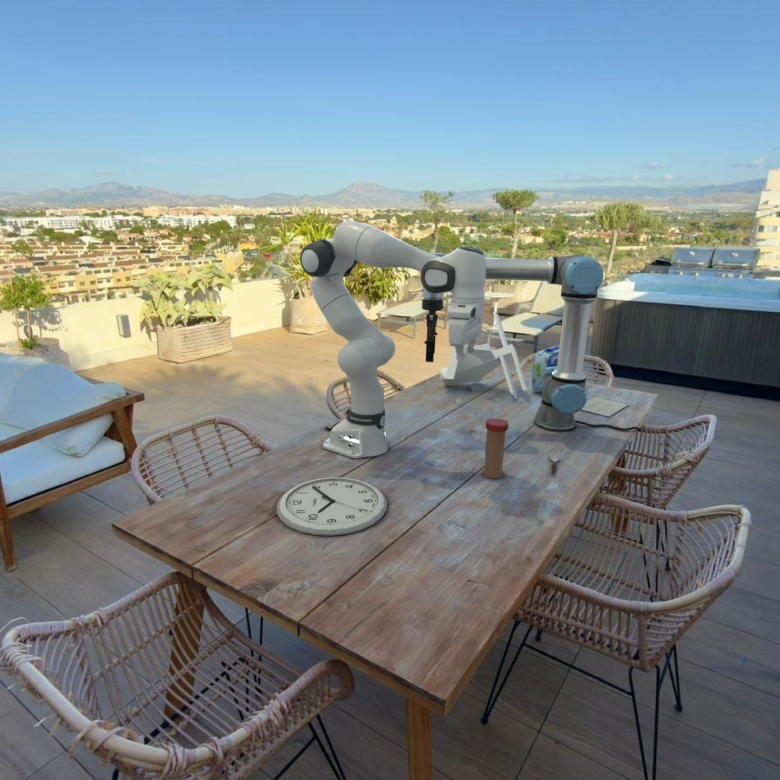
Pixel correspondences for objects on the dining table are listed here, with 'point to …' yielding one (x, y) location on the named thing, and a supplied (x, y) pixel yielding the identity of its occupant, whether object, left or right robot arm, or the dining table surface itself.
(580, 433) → the dining table surface
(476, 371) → the white plastic object
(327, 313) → the left robot arm
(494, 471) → the jar
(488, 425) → the lid
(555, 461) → the fork
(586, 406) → the invitation card
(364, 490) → the wall clock
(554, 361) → the lunch box
